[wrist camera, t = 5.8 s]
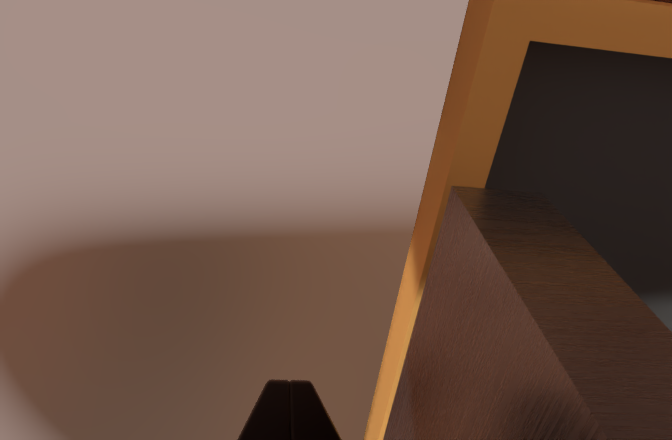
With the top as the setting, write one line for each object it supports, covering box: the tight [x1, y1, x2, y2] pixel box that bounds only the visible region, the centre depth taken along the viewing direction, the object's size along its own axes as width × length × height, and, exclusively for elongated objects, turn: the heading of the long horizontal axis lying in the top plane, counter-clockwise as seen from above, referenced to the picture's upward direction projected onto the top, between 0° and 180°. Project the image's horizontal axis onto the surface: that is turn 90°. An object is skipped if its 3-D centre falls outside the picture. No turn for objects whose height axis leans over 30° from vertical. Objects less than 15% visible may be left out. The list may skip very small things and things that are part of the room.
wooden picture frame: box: [363, 0, 672, 440], centre depth 13 cm, size 14×11×1 cm
